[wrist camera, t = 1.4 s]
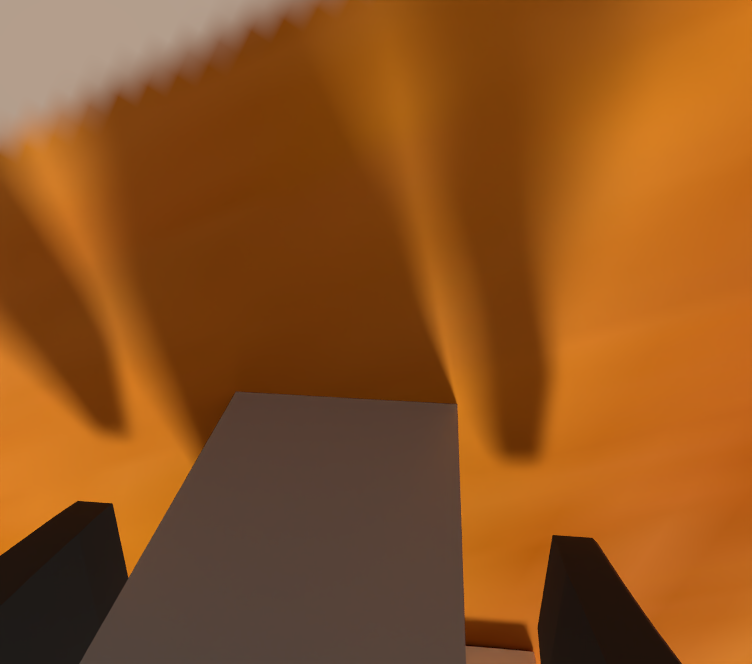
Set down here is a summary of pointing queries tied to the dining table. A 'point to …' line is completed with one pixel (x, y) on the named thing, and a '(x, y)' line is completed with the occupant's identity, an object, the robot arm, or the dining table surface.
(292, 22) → the dining table surface
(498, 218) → the dining table surface
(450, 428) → the plug
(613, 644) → the robot arm
